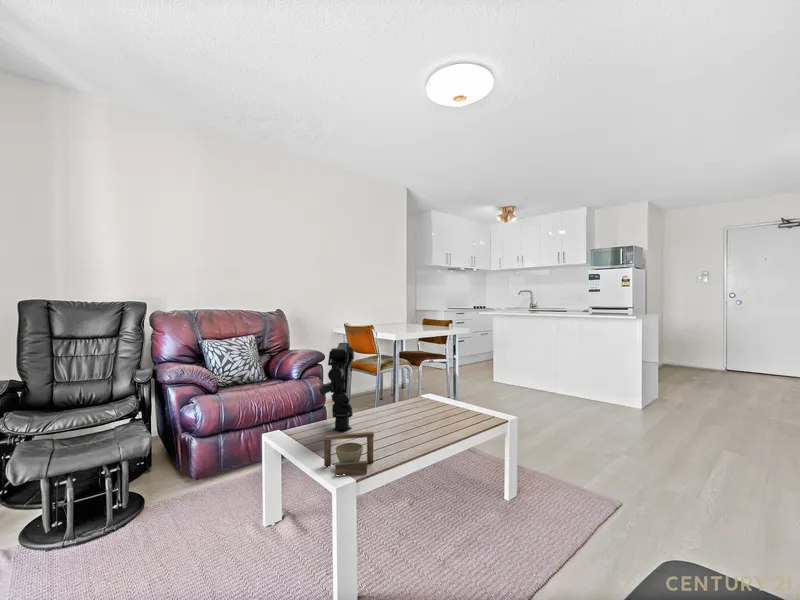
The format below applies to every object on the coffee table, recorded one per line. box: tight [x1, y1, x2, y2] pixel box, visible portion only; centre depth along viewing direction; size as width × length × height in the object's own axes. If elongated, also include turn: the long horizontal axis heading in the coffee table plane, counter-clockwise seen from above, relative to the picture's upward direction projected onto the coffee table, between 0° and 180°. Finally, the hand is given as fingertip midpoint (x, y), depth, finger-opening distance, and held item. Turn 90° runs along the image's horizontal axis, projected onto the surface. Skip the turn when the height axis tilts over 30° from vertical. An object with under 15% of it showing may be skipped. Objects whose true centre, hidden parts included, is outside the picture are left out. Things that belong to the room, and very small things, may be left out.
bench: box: [323, 431, 375, 476], centre depth 142 cm, size 10×18×11 cm, turn 102°
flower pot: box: [335, 442, 364, 463], centre depth 144 cm, size 10×10×7 cm
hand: (338, 412), depth 171 cm, fingers closed
